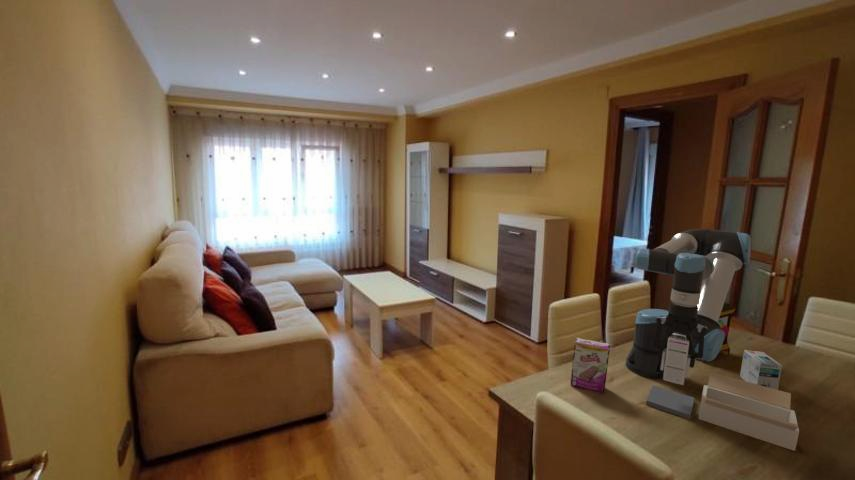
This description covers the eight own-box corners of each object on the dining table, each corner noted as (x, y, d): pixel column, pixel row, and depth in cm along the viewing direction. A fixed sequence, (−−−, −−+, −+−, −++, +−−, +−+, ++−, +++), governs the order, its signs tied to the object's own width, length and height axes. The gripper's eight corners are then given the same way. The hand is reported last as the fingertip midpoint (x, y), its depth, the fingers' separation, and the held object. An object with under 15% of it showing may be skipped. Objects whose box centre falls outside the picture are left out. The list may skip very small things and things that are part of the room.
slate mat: (645, 404, 128) (646, 400, 128) (652, 389, 137) (652, 385, 137) (689, 419, 121) (690, 415, 121) (693, 401, 130) (694, 397, 130)
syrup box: (683, 385, 123) (690, 342, 121) (662, 380, 126) (668, 337, 124) (683, 378, 128) (690, 335, 126) (662, 372, 131) (668, 331, 129)
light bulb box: (778, 394, 136) (783, 365, 134) (755, 391, 137) (761, 362, 135) (759, 378, 146) (764, 351, 144) (738, 376, 147) (743, 349, 145)
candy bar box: (570, 386, 138) (574, 342, 135) (571, 379, 143) (575, 336, 140) (605, 394, 134) (610, 349, 131) (605, 387, 138) (610, 343, 135)
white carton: (697, 425, 118) (701, 396, 116) (702, 396, 134) (706, 370, 132) (796, 459, 105) (803, 427, 103) (789, 422, 120) (795, 394, 119)
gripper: (647, 299, 126) (639, 367, 130) (721, 313, 114) (709, 387, 118) (651, 294, 132) (643, 358, 136) (722, 307, 120) (711, 377, 124)
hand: (674, 372), depth 127 cm, fingers closed on syrup box, 6 cm apart
